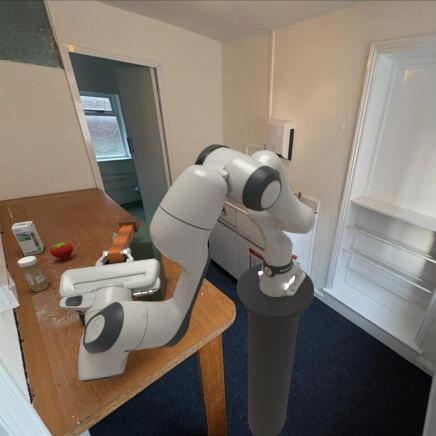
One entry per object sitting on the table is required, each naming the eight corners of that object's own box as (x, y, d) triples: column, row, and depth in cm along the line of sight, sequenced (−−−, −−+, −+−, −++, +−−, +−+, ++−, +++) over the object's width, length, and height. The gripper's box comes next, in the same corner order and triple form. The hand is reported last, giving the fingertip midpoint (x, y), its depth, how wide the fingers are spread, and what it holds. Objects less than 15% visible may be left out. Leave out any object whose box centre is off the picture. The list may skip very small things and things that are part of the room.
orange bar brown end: (126, 261, 62) (122, 248, 60) (106, 263, 60) (102, 251, 58) (140, 227, 78) (137, 216, 76) (124, 228, 77) (121, 217, 75)
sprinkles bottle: (49, 288, 89) (36, 259, 84) (32, 293, 86) (17, 264, 80) (48, 282, 92) (35, 254, 86) (31, 287, 89) (16, 258, 83)
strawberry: (78, 259, 106) (71, 240, 101) (55, 266, 101) (46, 246, 96) (75, 253, 109) (68, 235, 105) (53, 259, 104) (45, 240, 100)
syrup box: (24, 256, 104) (10, 228, 98) (27, 250, 109) (14, 222, 102) (42, 253, 108) (29, 225, 101) (44, 246, 112) (32, 220, 106)
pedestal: (163, 299, 89) (151, 241, 78) (139, 303, 86) (123, 244, 75) (166, 279, 99) (155, 225, 88) (144, 282, 96) (131, 227, 85)
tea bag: (122, 248, 116) (118, 230, 112) (129, 253, 113) (124, 235, 108) (114, 251, 113) (109, 233, 109) (120, 256, 110) (115, 238, 105)
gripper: (157, 288, 57) (158, 239, 64) (49, 307, 49) (63, 249, 56) (162, 296, 62) (163, 250, 69) (64, 314, 54) (76, 260, 61)
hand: (117, 250), depth 62 cm, fingers closed on orange bar brown end, 3 cm apart
